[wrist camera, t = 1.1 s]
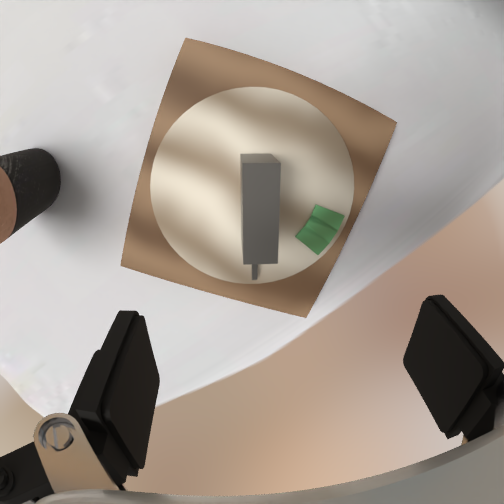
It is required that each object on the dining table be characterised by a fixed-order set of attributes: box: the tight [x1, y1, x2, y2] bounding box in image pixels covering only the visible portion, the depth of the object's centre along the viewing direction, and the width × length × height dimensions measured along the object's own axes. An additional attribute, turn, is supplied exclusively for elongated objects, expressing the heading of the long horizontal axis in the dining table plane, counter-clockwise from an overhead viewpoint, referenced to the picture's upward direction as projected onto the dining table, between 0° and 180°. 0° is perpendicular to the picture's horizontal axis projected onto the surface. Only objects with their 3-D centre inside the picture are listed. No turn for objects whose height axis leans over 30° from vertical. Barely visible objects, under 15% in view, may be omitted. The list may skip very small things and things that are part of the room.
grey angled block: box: [240, 154, 281, 280], centre depth 24 cm, size 12×2×6 cm, turn 0°
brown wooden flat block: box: [121, 38, 397, 318], centre depth 28 cm, size 22×20×4 cm
